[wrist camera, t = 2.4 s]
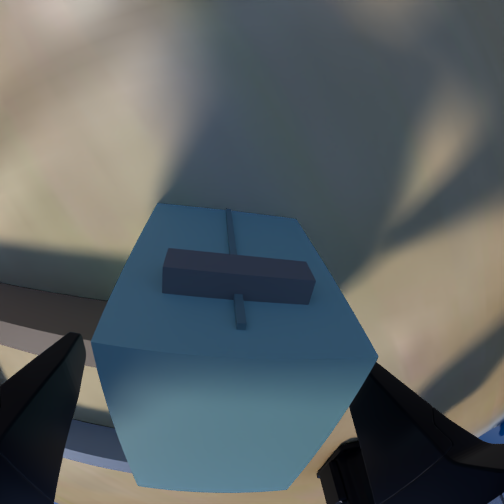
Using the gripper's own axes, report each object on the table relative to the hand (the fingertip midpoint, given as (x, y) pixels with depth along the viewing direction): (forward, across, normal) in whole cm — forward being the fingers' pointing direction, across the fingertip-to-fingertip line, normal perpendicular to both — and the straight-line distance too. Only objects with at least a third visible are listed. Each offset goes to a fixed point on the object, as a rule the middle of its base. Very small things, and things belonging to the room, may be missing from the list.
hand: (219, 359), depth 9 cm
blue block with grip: (+4, 0, 0) cm, 4 cm away
